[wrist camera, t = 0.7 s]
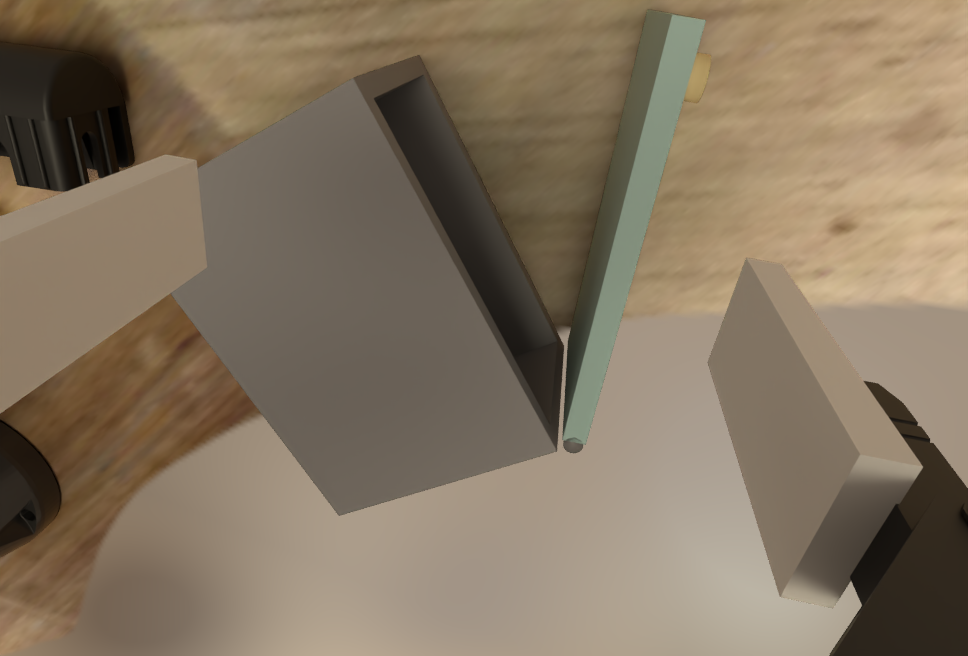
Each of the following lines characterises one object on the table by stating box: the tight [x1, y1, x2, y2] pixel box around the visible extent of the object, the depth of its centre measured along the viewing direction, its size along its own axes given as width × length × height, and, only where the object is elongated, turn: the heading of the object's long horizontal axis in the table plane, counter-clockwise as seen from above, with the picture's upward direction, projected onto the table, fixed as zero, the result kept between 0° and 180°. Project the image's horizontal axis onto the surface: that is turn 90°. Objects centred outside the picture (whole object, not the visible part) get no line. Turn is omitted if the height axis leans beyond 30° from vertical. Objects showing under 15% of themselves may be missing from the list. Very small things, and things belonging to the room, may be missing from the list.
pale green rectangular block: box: [563, 10, 711, 453], centre depth 31 cm, size 3×20×10 cm, turn 172°
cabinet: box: [170, 55, 564, 516], centre depth 35 cm, size 14×20×11 cm
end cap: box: [0, 42, 134, 191], centre depth 36 cm, size 10×7×7 cm
